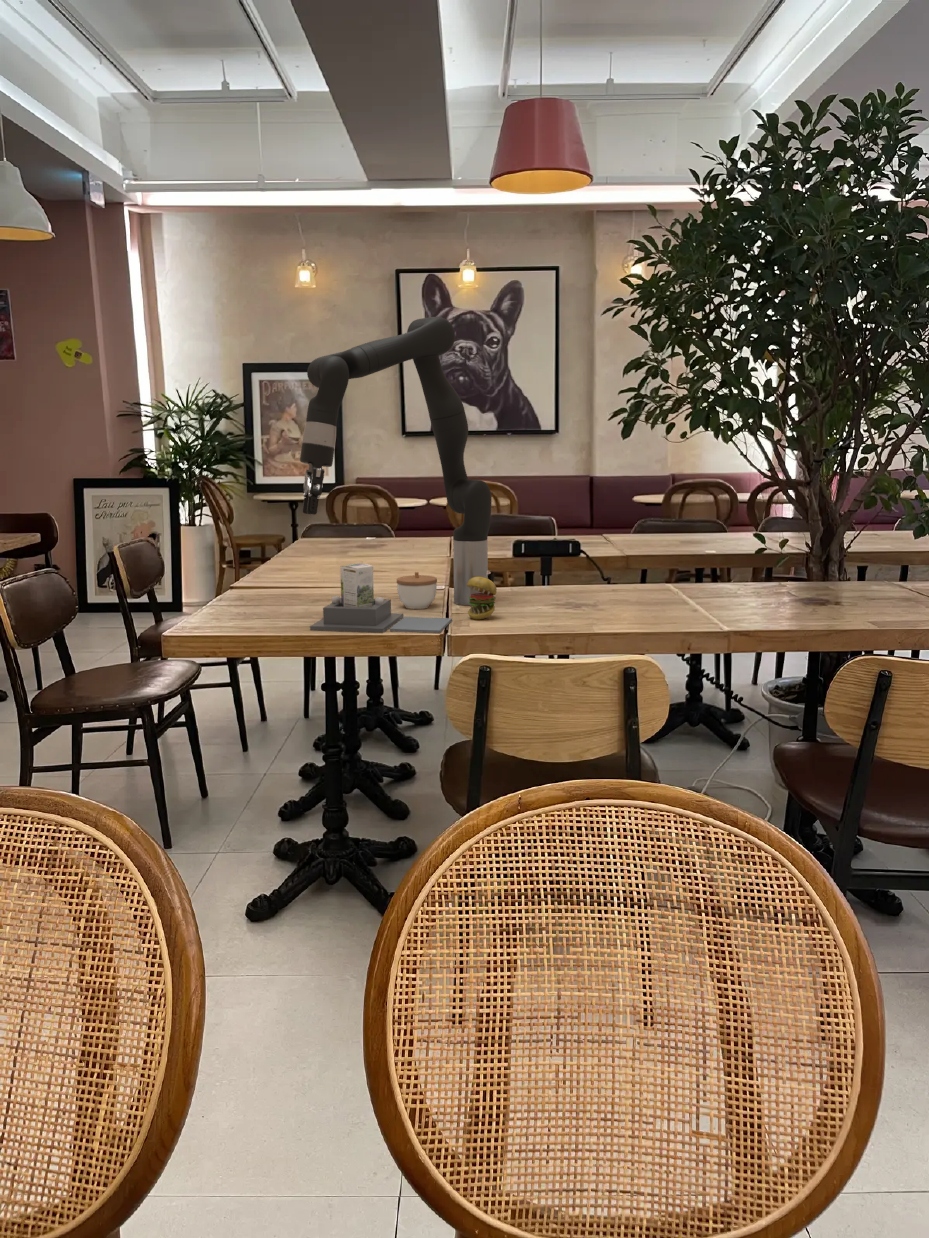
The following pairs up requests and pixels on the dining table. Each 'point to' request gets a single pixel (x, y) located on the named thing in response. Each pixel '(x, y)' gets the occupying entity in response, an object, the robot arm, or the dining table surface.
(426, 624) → the mat
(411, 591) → the lidded jar
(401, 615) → the holder
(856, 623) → the dining table surface
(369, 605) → the syrup box
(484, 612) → the hamburger
